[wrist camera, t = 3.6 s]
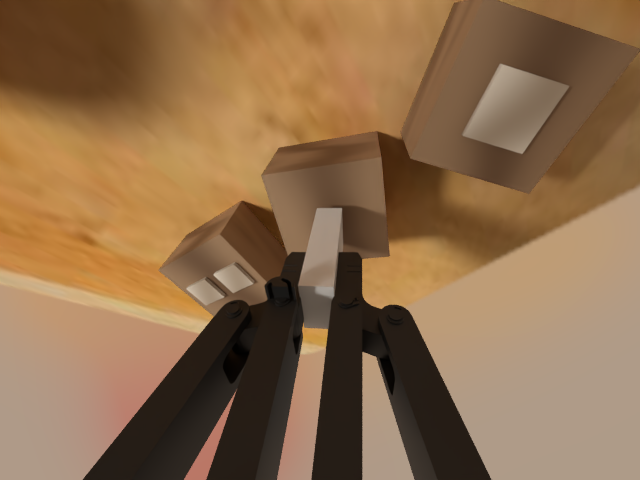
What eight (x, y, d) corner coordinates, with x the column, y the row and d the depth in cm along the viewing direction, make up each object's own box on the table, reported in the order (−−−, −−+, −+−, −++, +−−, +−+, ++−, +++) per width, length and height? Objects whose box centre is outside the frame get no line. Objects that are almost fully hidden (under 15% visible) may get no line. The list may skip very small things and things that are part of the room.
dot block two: (239, 282, 30) (219, 324, 26) (187, 233, 27) (156, 272, 23) (292, 257, 28) (280, 299, 23) (242, 199, 25) (218, 236, 20)
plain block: (301, 226, 26) (291, 264, 21) (279, 147, 22) (261, 175, 18) (384, 217, 24) (389, 256, 20) (377, 130, 20) (381, 157, 16)
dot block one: (400, 131, 20) (410, 160, 16) (453, 3, 16) (487, -5, 12) (496, 160, 20) (531, 196, 16) (572, 42, 16) (646, 49, 12)
